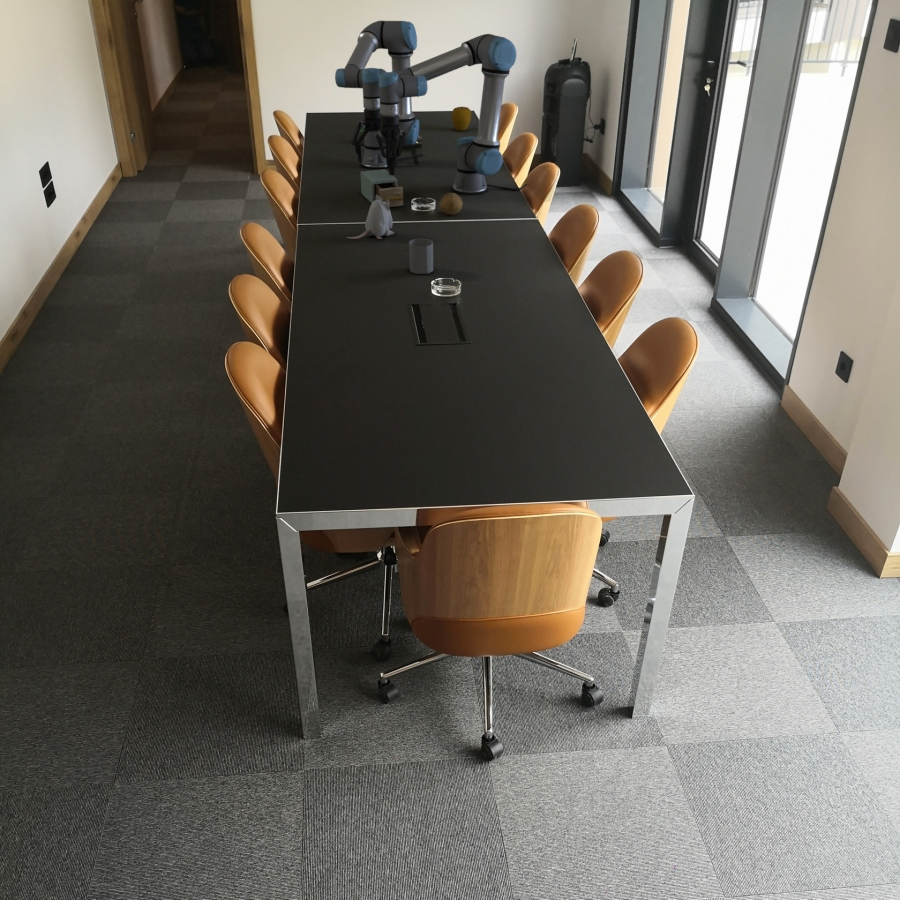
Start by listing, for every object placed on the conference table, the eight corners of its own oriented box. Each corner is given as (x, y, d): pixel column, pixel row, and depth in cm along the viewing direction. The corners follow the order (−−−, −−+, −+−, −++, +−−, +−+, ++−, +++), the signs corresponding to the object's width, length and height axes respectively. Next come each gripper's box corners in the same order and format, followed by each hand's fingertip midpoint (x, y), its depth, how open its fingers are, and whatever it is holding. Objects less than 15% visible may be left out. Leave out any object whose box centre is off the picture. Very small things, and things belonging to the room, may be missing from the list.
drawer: (407, 208, 365) (406, 190, 361) (384, 211, 362) (383, 193, 358) (391, 195, 382) (391, 177, 378) (369, 197, 379) (368, 179, 374)
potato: (461, 208, 368) (461, 189, 364) (463, 218, 357) (464, 199, 352) (438, 208, 368) (438, 190, 364) (440, 219, 356) (440, 199, 352)
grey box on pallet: (398, 201, 377) (397, 179, 372) (372, 204, 373) (371, 181, 368) (385, 191, 390) (385, 169, 385) (361, 193, 387) (360, 171, 382)
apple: (471, 132, 486) (471, 108, 479) (451, 132, 486) (451, 108, 479) (470, 128, 495) (471, 104, 488) (452, 128, 495) (452, 104, 488)
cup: (409, 265, 311) (408, 238, 306) (432, 265, 312) (431, 238, 307) (410, 274, 304) (409, 246, 299) (433, 273, 305) (433, 246, 299)
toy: (399, 234, 340) (398, 196, 332) (354, 249, 326) (352, 209, 317) (384, 229, 345) (382, 191, 337) (338, 243, 331) (336, 204, 323)
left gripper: (346, 112, 359) (349, 164, 370) (403, 107, 367) (404, 159, 378) (341, 108, 365) (344, 160, 376) (397, 104, 373) (399, 155, 384)
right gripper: (376, 117, 341) (379, 178, 354) (408, 115, 345) (409, 175, 358) (371, 114, 347) (374, 173, 360) (402, 111, 351) (403, 170, 364)
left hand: (374, 159), depth 377 cm, fingers open, 13 cm apart
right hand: (391, 174), depth 359 cm, fingers closed
